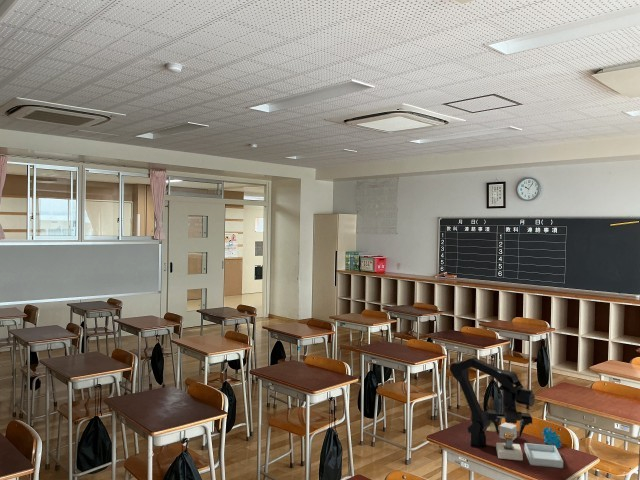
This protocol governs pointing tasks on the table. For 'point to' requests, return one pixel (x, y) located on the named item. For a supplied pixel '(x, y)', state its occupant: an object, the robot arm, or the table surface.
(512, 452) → the white square hole block
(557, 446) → the gear
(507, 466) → the table surface
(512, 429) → the white cube
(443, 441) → the table surface
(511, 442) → the lock pin
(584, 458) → the table surface
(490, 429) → the hand bell
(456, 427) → the table surface
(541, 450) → the parts tray
